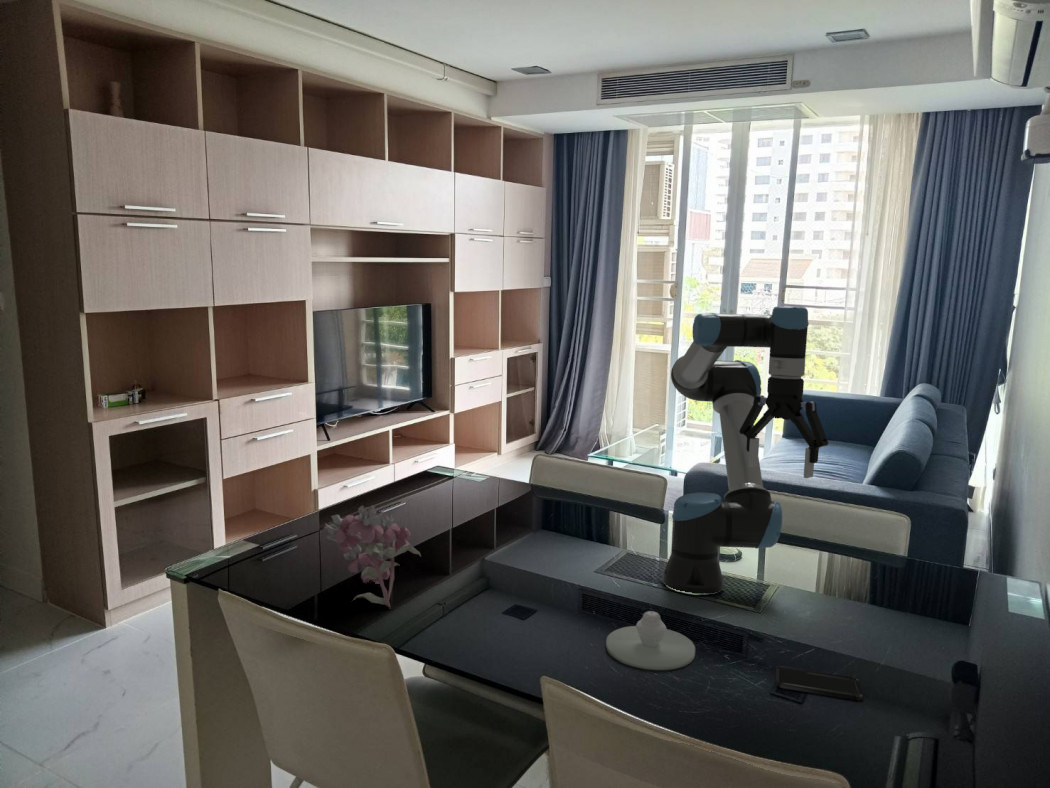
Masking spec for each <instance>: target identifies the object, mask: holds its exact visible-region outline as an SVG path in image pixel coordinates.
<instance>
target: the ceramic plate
mask: <svg viewBox="0 0 1050 788" xmlns="http://www.w3.org/2000/svg"><path fill="white" fill-rule="evenodd" d="M605 647H606V651H607V652H608V654H609V655H610V656H611V657H612V658H613V659H615V660H617V661H618V662H620V663H622V664H624V665H627V666H630V667H633V668H637V669H642V670H650V671H669V670H670V671H671V670H676V669H677V670H678V669H680V668H681V669H682V668H683V667H686V666H688V665H689V664H691V663H692V662H693V661H694V659H695V657H696V646H695V644H694V642H693V641H692V640H691V639H689V638H688V637H687V636H685V635H684V634H682V633H680V632H678V631H674V630H671V629H668V628H666V633H665V634H664V637H663V639H662V640H661V642H660V643H659V645H658V646H657V647H646V646H644V645H643V644H642V642H641V639H640V637H639V635H638V633H637V629H636V625H631V626H630V625H629V626H623V627H621V628H618V629H615V630H613V631H612V632H610V633H609V634H608V635H607V637H606V643H605Z"/></svg>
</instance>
